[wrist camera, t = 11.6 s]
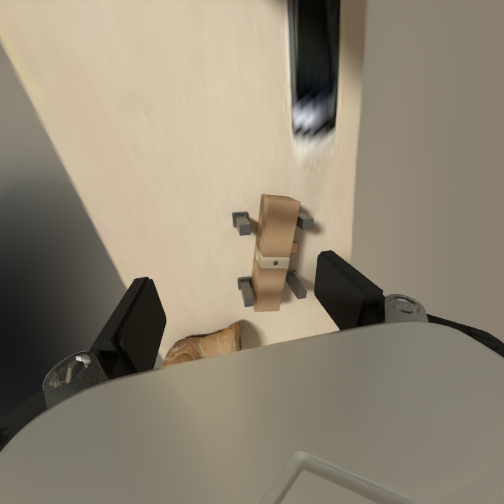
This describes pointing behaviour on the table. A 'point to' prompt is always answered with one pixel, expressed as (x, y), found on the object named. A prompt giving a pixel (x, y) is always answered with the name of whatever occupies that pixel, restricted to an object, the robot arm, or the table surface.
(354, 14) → the table surface
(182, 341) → the pipe
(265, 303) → the tan plank with band
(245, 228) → the gray u-shaped bracket
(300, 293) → the pair of grey posts
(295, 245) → the brown flat block
